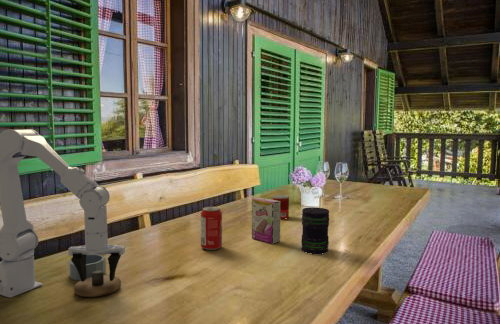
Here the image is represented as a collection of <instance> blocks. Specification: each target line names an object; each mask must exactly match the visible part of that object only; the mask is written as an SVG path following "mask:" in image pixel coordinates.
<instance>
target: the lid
mask: <svg viewBox="0 0 500 324" xmlns="http://www.w3.org/2000/svg"><path fill="white" fill-rule="evenodd" d="M121 286H122V281H121V279H120V278H119V277H118V276H115V277H114V279H113V281H110V278H109V275H103V271H94V272H92V277H90V278H86V279H85V281H82V282H81V280H78V282H76V283H75V285H74V286H73V291H74V293H75V294H76V295H77V296H80V297H85V298H86V297H87V298H89V297H90V298H93V297H101V296H105V295H109V294H112V293H114V292H116V291H118V290H119V289H120V288H121Z"/></svg>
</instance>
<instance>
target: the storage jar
mask: <svg viewBox="0 0 500 324" xmlns="http://www.w3.org/2000/svg"><path fill="white" fill-rule="evenodd" d="M301 210H302V213H301V215H302V216H301V225H302V234H301V239H300V240H301V242H300V243H301V251H302V252H303V251H304V252H303V253H305V252H307V253H306V254H308V253H312V254H311V255H314V254H321V255H323V254H322V253H326V252H327V253H329V243H330V242H329V240H330V239H329V225H330V210H329V209H328V208H324V207H313V206H311V207H304V208H302V209H301ZM327 253H326V254H327Z"/></svg>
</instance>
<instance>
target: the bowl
mask: <svg viewBox="0 0 500 324" xmlns="http://www.w3.org/2000/svg"><path fill="white" fill-rule="evenodd" d="M106 265H107V264H106V256H105V255H104V254H88V255H87V256H86V278H90V277H92V272H94V271H103V276H105V274H106V273H107V271H106V268H107V267H106ZM68 276H69V278H70V279H71V280H75V281H81V279H80V275H79V273H78V270H77V268H76V267H75V265H74V264H73V262H72V261H71V259H69V260H68Z"/></svg>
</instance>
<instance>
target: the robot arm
mask: <svg viewBox="0 0 500 324" xmlns="http://www.w3.org/2000/svg"><path fill="white" fill-rule="evenodd" d="M26 156H30V157H35V158H36V157H37V158H38V159H39V160H40V161H41V162H42V163H44V164H45V165H47V166H48V167H49V168H50V169H51V170H53V171H54V172H55V173H56V174H57V175H59V177H60V183H61V184H62V185H63V186H64V187H65V188H66V189H68V190H69V191H70V192H71V193H72V194H73V195H74V196H75V197H76V198H77V199H79V200H78V202H79V205H80V207H81V208H82V210H83V212H84V213H83V214H84V215H83V217H84V242H85V243H84V245H78V246H70V247H68V249H67V251H68V256H69V257H71V256H72V258H70V260H71V261H72V262H73V264H74V265H75V267H76V268H77V270H78V273H79V275H80V279H81V280H80V281H81V282H82V281H85V279H86V256H87V255H88V254H99V255H108V257H107V261H108V269H109V274H108V276H109V278H110V281H113V279H114V277H116V270H117V267H118V264H119V261H120V259H121V256H123V255H124V254H125V253H126V252H125V251H126V249H125V245H116V244H109V240H108V239H109V238H108V237H109V235H108V214H107V204H108V203H109V201H110V198H111V197H110V193H109V191H108V190H107V188H106V186H104V185H99V184H98V183H97V182H96V181H93V180H92V179H91V178H90V177H88V176H87V174H85V170H84V169H83V168H79V167H78V166H75V167H74V166H73V167H71V166H70V165H69V164H68V163H67V161H65V160H64V159H63V158H62V157H61V156H60V155H59V154H58V153H57V152H56V150H54V148H52V146H51V145H50V144H49V143H48V142H47V140H46V139H45V137H43V136H42V135H40V134H39V132H37V130H34V129H32V128H26V129H9V128H8V129H5V130H3V131H2V132H0V211H1V218H2V222H3V225H2V227H1V228H0V259H2V260H1V261H0V295H1V296H2V297H3V296H4V297H6V298H13V297H16V296H18V295H21V294H23V293H26V292H29V291H31V290H33V289H36V288H39V287H42V286H43V283H42V282H39V281H36V276H35V275H36V273H35V255H34V254H35V249H36V247H38V244H39V236H38V234H37V232H35V230H34V225H33V223H31V222H29V221H28V219H27V215H26V208H25V203H24V196H23V191H22V184H21V178H20V173H19V167H18V166H19V164H20V162H22V160H23V159H24V158H26Z"/></svg>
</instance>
